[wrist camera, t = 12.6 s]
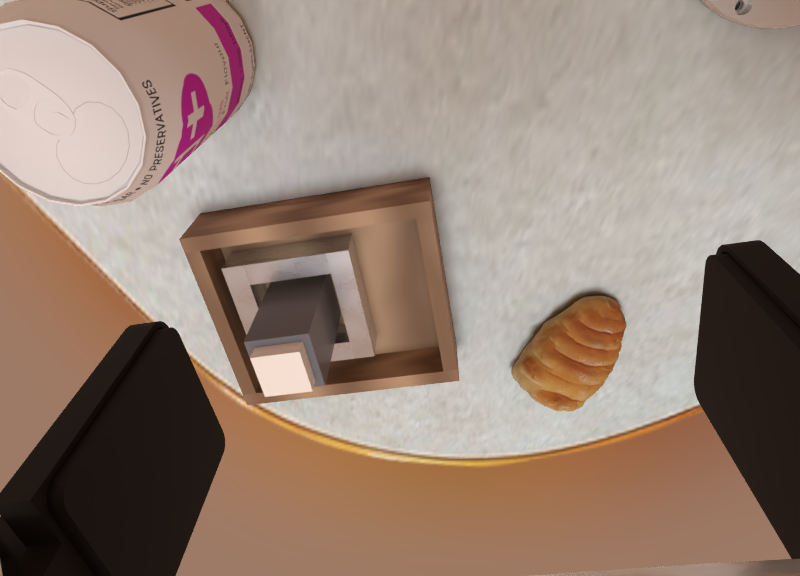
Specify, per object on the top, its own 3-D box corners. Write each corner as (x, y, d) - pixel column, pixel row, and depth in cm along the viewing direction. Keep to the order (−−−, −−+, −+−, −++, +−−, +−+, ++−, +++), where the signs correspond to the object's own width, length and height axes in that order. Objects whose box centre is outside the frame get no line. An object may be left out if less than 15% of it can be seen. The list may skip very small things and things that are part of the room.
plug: (341, 314, 43) (322, 396, 35) (288, 321, 43) (259, 404, 36) (327, 267, 41) (305, 343, 33) (273, 275, 41) (239, 352, 34)
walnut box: (429, 177, 38) (430, 201, 35) (456, 347, 45) (459, 380, 42) (200, 213, 40) (179, 239, 37) (260, 371, 47) (247, 404, 44)
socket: (352, 233, 40) (348, 250, 37) (377, 335, 44) (374, 356, 42) (231, 251, 41) (221, 268, 38) (267, 349, 45) (259, 370, 43)
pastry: (564, 275, 42) (576, 303, 39) (644, 306, 43) (662, 336, 40) (504, 369, 47) (510, 402, 43) (578, 395, 48) (589, 428, 44)
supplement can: (284, 44, 34) (200, 106, 22) (213, 148, 38) (104, 255, 25) (161, -58, 32) (-15, -57, 19) (97, 63, 35) (-89, 133, 23)
